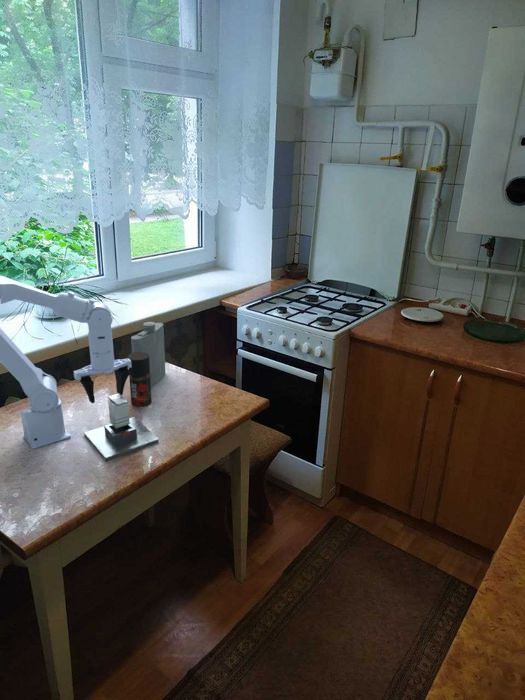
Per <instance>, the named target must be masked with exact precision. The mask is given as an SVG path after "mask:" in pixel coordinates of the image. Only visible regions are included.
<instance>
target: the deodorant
mask: <svg viewBox="0 0 525 700" xmlns="http://www.w3.org/2000/svg"><path fill="white" fill-rule="evenodd" d="M127 358H128V359H130V360H131V365H132V367H130V368H128V369H129V370H130V374H129V376H128V377H129V378H128V379H129V380H128V381H129V391H130V404H131V405H132V407H134V408H138V409H139V408H141V407H142V408H146V407H149V406H151V405H152V401H153V398H152V397H153V396H152V387H151V379H150V361H149V354H148V353H145V352H135V353H132V352H131V353H130V354H128V355H127ZM142 408H141V409H142Z"/></svg>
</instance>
